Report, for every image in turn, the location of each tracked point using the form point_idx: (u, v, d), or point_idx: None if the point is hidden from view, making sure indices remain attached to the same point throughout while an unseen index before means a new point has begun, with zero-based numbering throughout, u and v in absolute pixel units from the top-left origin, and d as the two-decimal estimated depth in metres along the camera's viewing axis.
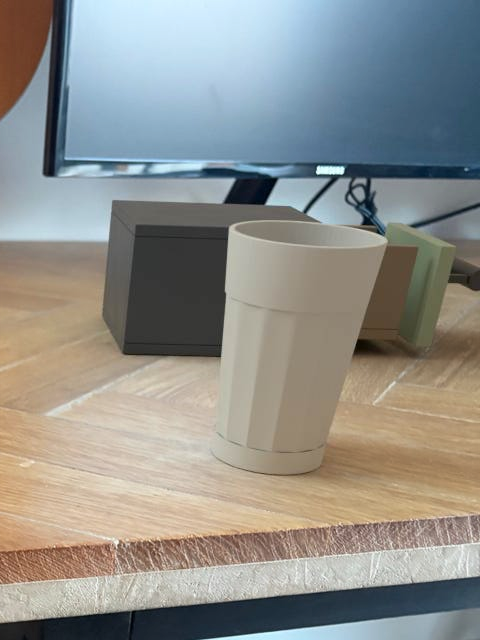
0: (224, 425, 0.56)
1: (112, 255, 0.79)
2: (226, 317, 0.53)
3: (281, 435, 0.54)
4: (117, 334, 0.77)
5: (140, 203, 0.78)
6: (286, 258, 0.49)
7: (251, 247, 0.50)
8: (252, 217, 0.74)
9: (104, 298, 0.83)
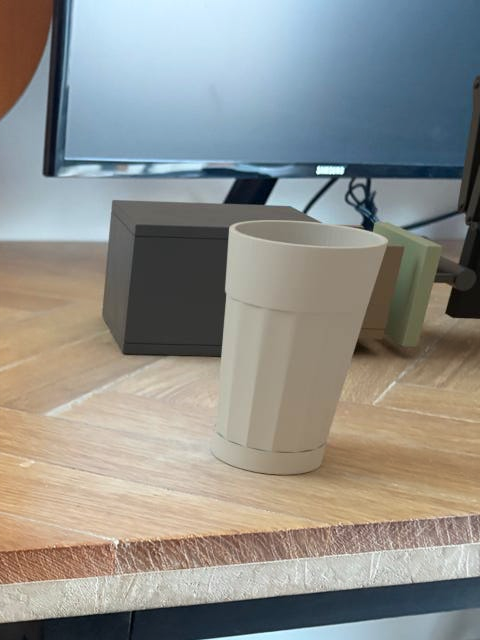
0: (224, 425, 0.56)
1: (112, 255, 0.79)
2: (226, 317, 0.53)
3: (281, 435, 0.54)
4: (117, 334, 0.77)
5: (140, 203, 0.78)
6: (286, 258, 0.49)
7: (251, 247, 0.50)
8: (252, 217, 0.74)
9: (104, 298, 0.83)
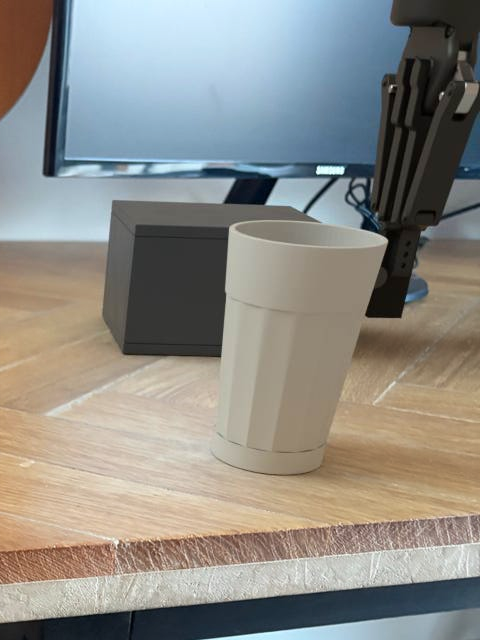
0: (224, 425, 0.56)
1: (112, 255, 0.79)
2: (226, 317, 0.53)
3: (281, 435, 0.54)
4: (117, 334, 0.77)
5: (140, 203, 0.78)
6: (286, 258, 0.49)
7: (251, 247, 0.50)
8: (252, 217, 0.74)
9: (104, 298, 0.83)
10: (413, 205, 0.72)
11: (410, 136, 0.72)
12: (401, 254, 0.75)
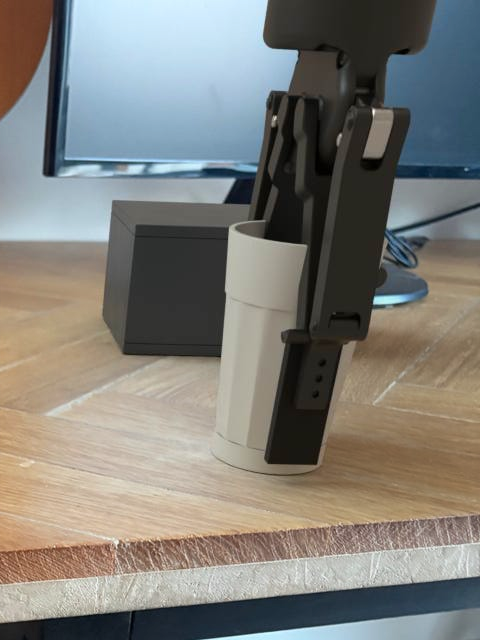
0: (224, 425, 0.56)
1: (112, 255, 0.79)
2: (226, 317, 0.53)
3: None
4: (117, 334, 0.77)
5: (140, 203, 0.78)
6: (286, 258, 0.49)
7: (251, 247, 0.50)
8: None
9: (104, 298, 0.83)
10: (323, 304, 0.46)
11: (306, 208, 0.48)
12: (312, 378, 0.50)
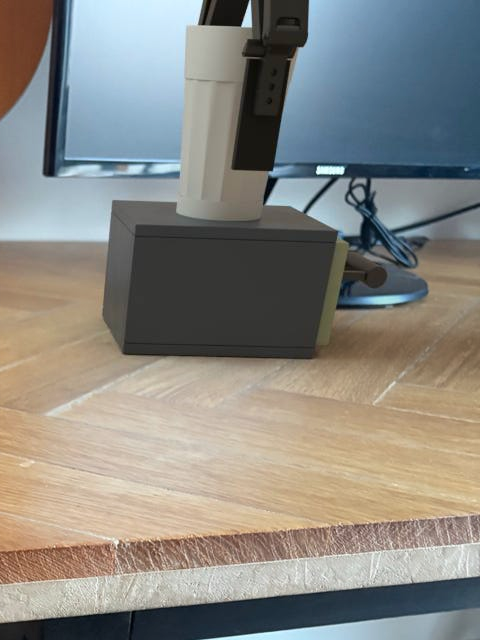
0: (185, 186, 0.73)
1: (112, 255, 0.79)
2: (185, 97, 0.71)
3: (227, 187, 0.71)
4: (117, 334, 0.77)
5: (140, 203, 0.78)
6: (226, 38, 0.66)
7: (201, 33, 0.67)
8: None
9: (104, 298, 0.83)
10: (270, 10, 0.60)
11: None
12: (266, 86, 0.63)
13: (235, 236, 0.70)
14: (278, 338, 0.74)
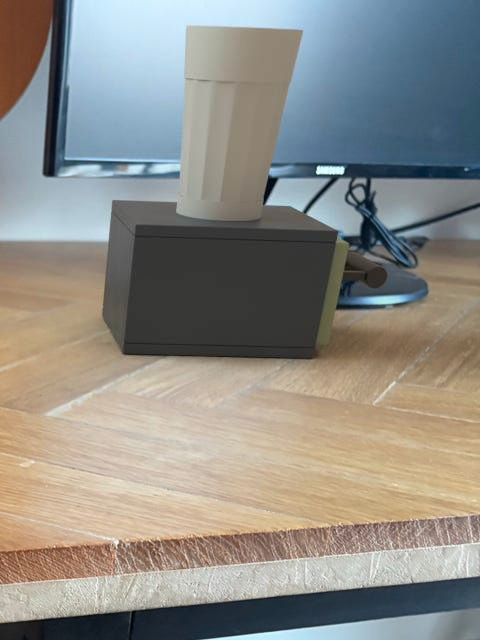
0: (185, 186, 0.73)
1: (112, 255, 0.79)
2: (185, 97, 0.71)
3: (227, 187, 0.71)
4: (117, 334, 0.77)
5: (140, 203, 0.78)
6: (226, 38, 0.66)
7: (201, 33, 0.67)
8: None
9: (104, 298, 0.83)
10: None
11: None
12: None
13: (235, 236, 0.70)
14: (278, 338, 0.74)
